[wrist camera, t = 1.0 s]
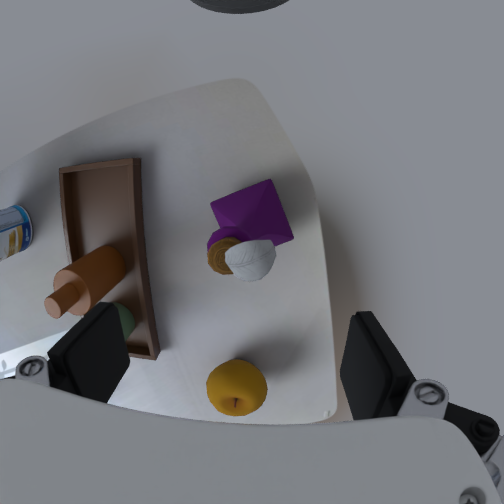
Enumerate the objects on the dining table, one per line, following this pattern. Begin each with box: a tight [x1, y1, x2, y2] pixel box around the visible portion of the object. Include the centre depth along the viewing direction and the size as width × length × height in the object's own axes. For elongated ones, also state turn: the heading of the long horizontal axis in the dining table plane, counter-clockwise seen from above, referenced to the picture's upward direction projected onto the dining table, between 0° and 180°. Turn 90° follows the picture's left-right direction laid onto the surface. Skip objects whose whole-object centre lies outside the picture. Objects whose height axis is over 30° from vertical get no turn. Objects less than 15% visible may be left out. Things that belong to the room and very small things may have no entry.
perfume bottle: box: [207, 179, 294, 281], centre depth 27 cm, size 8×8×18 cm
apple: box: [206, 359, 268, 416], centre depth 38 cm, size 9×9×9 cm
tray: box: [59, 158, 160, 360], centre depth 37 cm, size 30×13×2 cm, turn 179°
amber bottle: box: [44, 246, 126, 319], centre depth 31 cm, size 6×6×14 cm
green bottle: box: [110, 302, 135, 342], centre depth 34 cm, size 6×6×14 cm
